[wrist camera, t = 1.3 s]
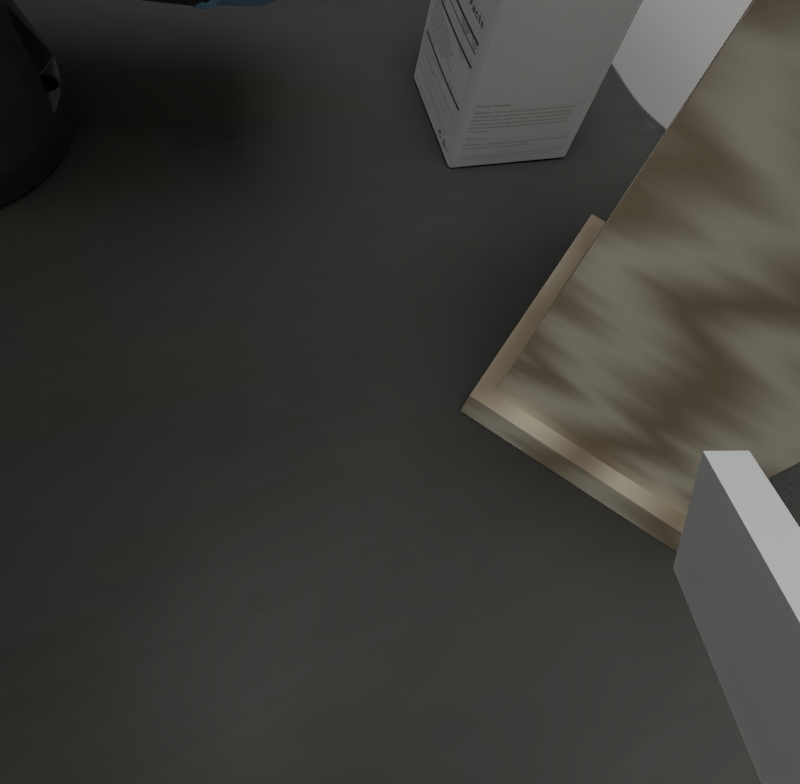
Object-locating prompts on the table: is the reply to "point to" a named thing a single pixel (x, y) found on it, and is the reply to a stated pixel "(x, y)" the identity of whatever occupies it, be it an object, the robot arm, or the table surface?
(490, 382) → the tall wooden pillar
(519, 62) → the supplement box
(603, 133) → the table surface
